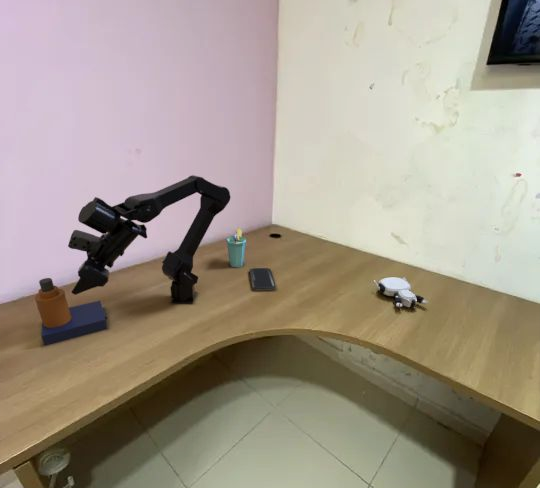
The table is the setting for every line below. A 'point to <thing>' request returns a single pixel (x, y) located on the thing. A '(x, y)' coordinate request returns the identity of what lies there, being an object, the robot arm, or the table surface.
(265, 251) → the table surface
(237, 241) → the cup
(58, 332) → the case
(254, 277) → the phone
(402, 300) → the robot toy
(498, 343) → the table surface
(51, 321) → the bottle
